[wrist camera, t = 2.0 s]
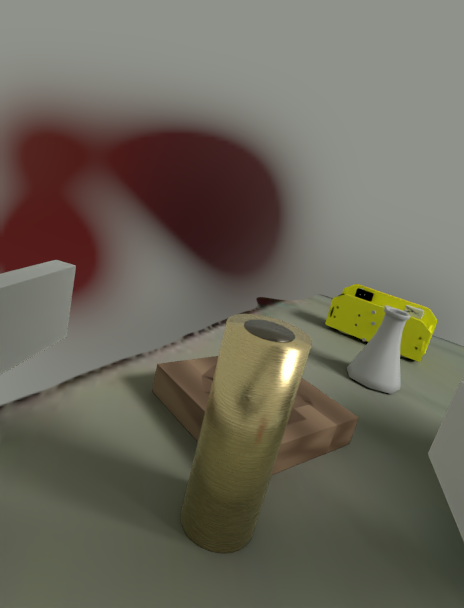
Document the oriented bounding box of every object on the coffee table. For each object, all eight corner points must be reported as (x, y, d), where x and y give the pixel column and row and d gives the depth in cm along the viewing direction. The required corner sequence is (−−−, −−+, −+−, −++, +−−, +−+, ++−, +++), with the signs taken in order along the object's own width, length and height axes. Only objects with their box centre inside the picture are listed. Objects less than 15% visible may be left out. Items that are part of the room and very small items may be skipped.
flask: (401, 381, 58) (428, 315, 55) (397, 401, 52) (426, 328, 49) (350, 361, 61) (373, 297, 58) (340, 378, 55) (365, 307, 52)
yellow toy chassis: (422, 358, 70) (441, 311, 68) (417, 367, 65) (437, 318, 63) (333, 322, 78) (347, 280, 75) (322, 329, 73) (337, 283, 70)
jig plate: (256, 372, 51) (262, 350, 50) (349, 444, 41) (359, 417, 40) (152, 390, 42) (157, 363, 41) (239, 487, 32) (248, 455, 31)
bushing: (224, 484, 32) (271, 311, 27) (268, 534, 28) (330, 345, 24) (166, 505, 29) (209, 314, 24) (208, 565, 25) (267, 354, 21)
